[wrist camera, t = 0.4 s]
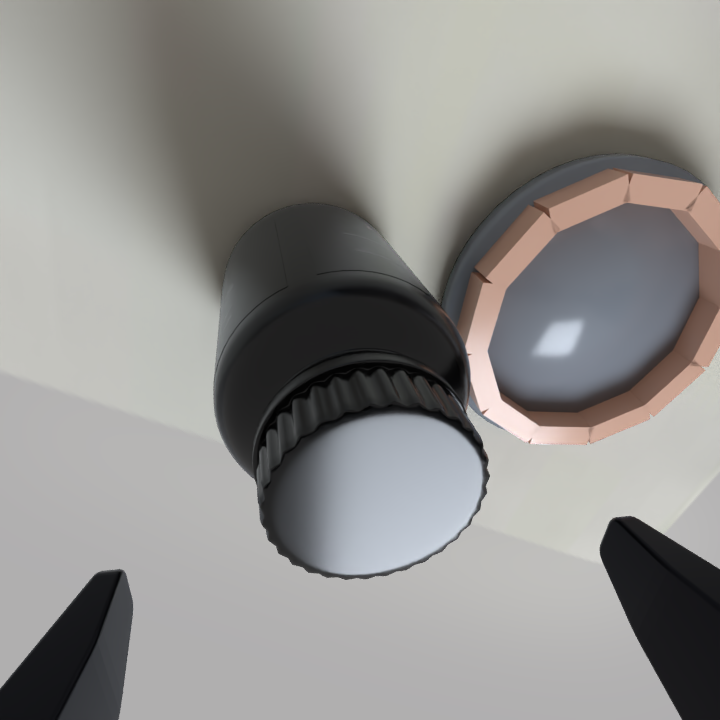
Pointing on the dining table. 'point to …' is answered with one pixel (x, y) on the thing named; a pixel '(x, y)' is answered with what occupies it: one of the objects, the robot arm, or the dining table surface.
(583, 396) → the bottle holder
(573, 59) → the dining table surface
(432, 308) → the supplement bottle
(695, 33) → the dining table surface
